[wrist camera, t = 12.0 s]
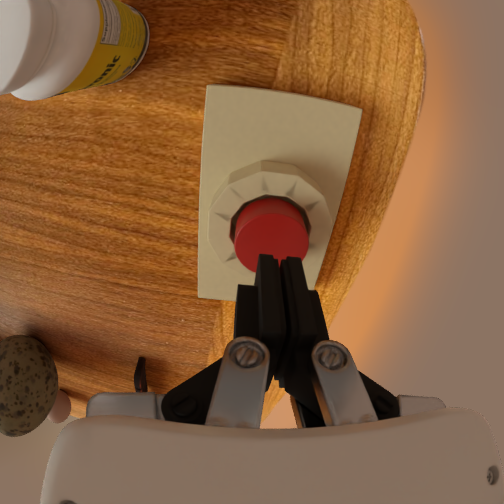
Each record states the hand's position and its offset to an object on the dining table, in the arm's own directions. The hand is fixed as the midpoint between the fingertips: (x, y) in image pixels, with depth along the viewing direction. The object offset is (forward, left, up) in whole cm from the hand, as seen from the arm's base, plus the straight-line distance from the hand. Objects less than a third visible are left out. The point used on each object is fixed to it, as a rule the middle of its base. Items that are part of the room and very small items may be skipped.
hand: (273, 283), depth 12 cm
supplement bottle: (-10, -10, -8) cm, 17 cm away
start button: (0, 0, -4) cm, 4 cm away
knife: (+28, -12, -8) cm, 31 cm away
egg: (+39, -31, -8) cm, 50 cm away
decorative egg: (+23, -28, -8) cm, 37 cm away
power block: (0, 0, -8) cm, 8 cm away
